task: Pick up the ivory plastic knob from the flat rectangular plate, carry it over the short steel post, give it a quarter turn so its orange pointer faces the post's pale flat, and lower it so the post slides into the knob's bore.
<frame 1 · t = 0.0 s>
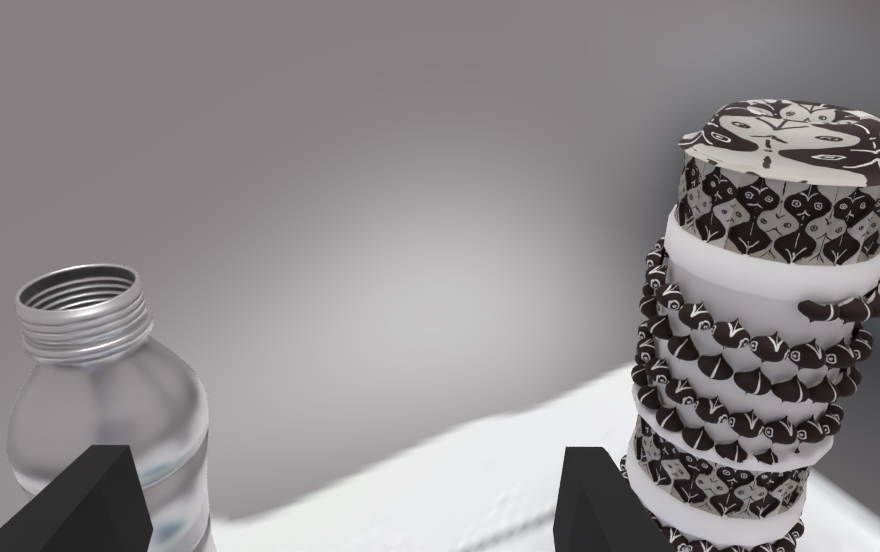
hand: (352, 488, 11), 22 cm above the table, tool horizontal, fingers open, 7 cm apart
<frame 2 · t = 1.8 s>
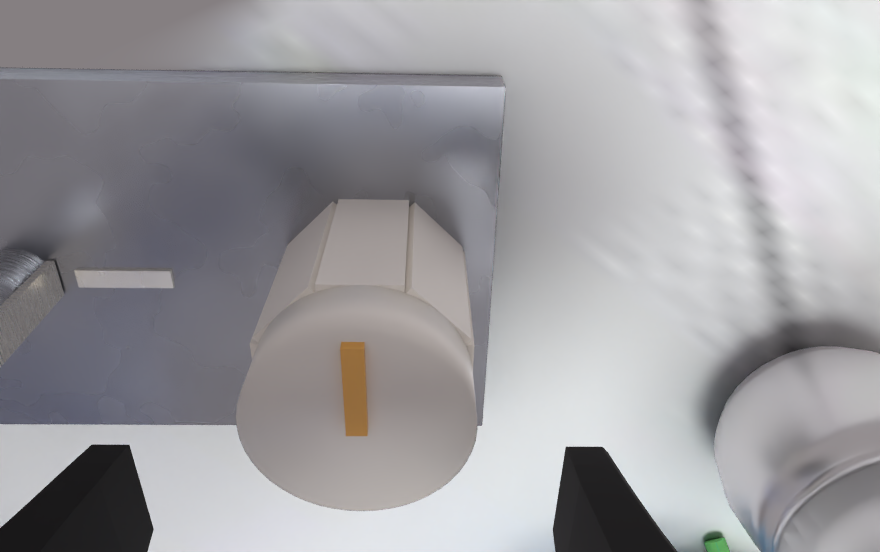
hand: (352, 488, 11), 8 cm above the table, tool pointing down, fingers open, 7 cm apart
plastic bottle: (794, 400, 21), on the table
knob: (376, 279, 17), point 1 cm above the table, touching flat rectangular plate
flat rectangular plate: (192, 259, 18), on the table
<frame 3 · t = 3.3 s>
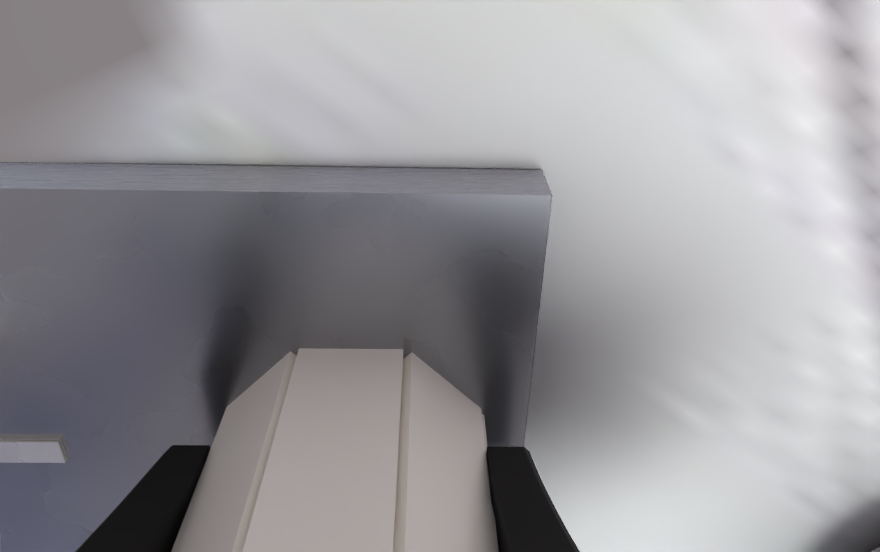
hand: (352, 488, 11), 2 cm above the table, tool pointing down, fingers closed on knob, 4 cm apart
knob: (356, 449, 12), point 1 cm above the table, touching gripper, flat rectangular plate
flat rectangular plate: (99, 410, 13), on the table
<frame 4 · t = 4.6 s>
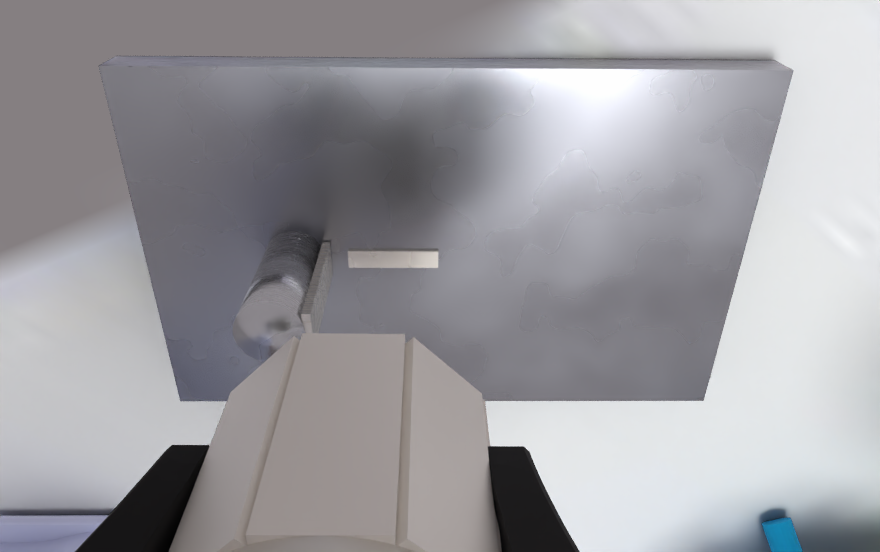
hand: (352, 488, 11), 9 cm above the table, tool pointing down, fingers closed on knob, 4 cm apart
knob: (359, 435, 12), point 8 cm above the table, touching gripper
flat rectangular plate: (445, 240, 19), on the table
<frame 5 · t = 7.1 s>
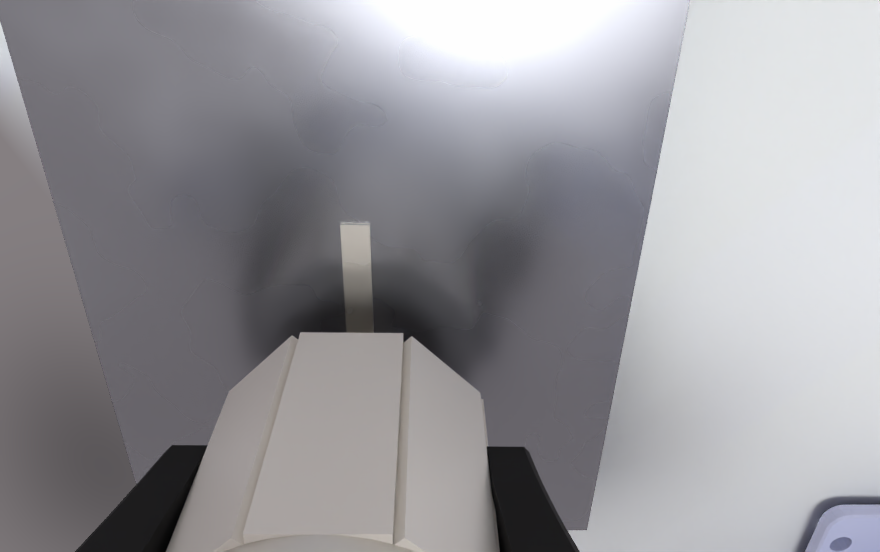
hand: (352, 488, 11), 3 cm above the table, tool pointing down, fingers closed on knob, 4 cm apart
knob: (357, 434, 12), point 2 cm above the table, touching gripper
flat rectangular plate: (360, 188, 12), on the table
when the fingers open (3 cm above the table, at t = 7.7 s): knob drops 1 cm, resting on flat rectangular plate.
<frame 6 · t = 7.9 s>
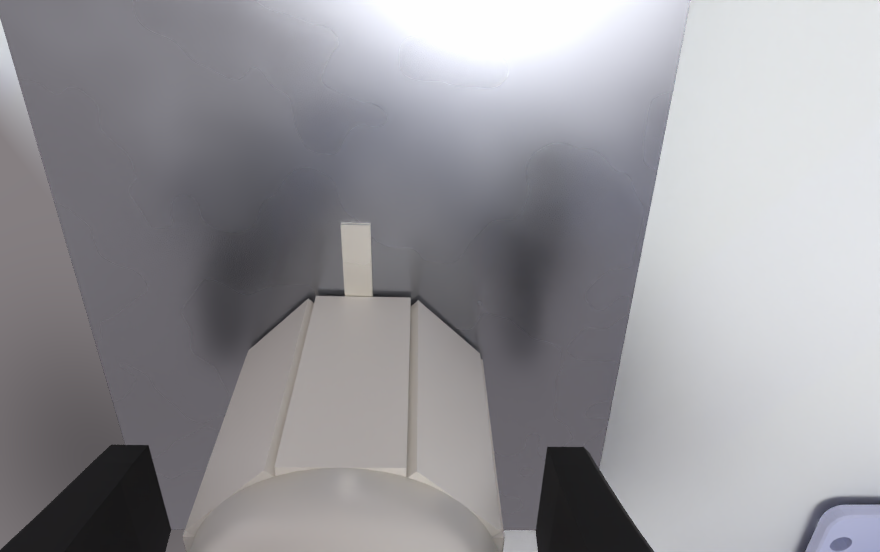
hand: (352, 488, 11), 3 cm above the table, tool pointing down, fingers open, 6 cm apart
knob: (366, 391, 13), point 1 cm above the table, touching flat rectangular plate
flat rectangular plate: (360, 188, 12), on the table
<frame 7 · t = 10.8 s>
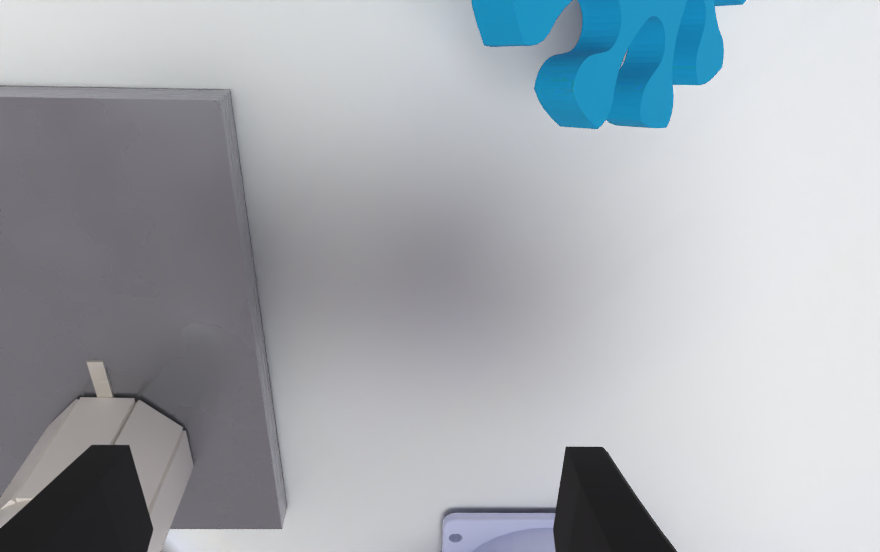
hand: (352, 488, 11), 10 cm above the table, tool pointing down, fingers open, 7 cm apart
knob: (122, 447, 23), point 1 cm above the table, touching flat rectangular plate
flat rectangular plate: (107, 336, 22), on the table
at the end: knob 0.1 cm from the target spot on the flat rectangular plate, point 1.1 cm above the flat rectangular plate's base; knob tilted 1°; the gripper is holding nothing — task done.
